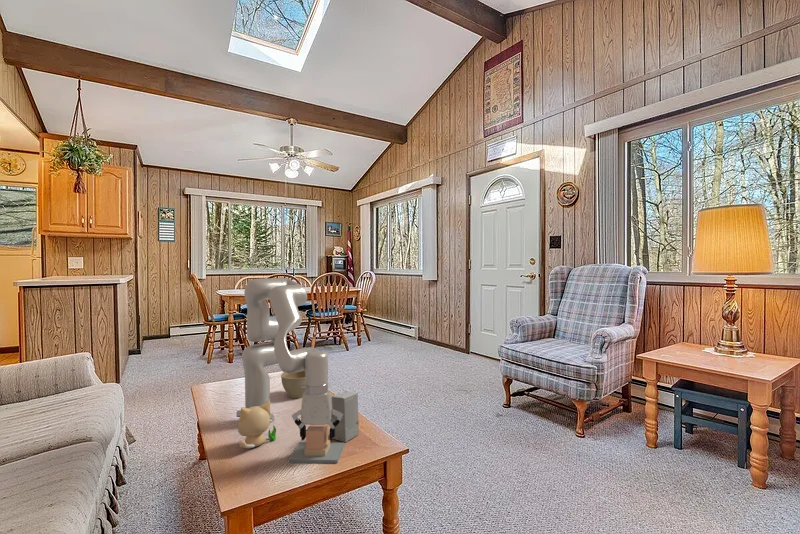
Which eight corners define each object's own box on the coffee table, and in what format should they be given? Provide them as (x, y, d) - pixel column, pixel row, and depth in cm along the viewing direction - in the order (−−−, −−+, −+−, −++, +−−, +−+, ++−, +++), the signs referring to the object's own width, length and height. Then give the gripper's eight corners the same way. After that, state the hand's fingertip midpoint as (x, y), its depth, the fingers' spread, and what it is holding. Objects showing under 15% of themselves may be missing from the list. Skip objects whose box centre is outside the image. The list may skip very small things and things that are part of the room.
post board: (288, 462, 123) (288, 442, 123) (300, 444, 135) (299, 426, 135) (337, 463, 122) (337, 443, 122) (344, 445, 134) (344, 427, 134)
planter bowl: (279, 392, 191) (278, 371, 191) (311, 388, 198) (311, 367, 198) (283, 403, 176) (283, 379, 176) (318, 397, 183) (317, 375, 183)
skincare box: (345, 443, 136) (345, 399, 136) (330, 438, 139) (330, 395, 139) (360, 434, 143) (359, 392, 143) (345, 430, 147) (345, 389, 147)
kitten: (270, 433, 144) (269, 394, 144) (282, 442, 137) (281, 401, 137) (229, 446, 134) (229, 404, 134) (240, 457, 127) (239, 412, 127)
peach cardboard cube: (306, 449, 126) (305, 431, 126) (311, 440, 132) (310, 423, 132) (323, 449, 125) (323, 431, 125) (328, 440, 131) (328, 423, 131)
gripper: (288, 392, 125) (288, 444, 125) (339, 392, 124) (340, 444, 124) (295, 385, 133) (296, 433, 133) (344, 385, 132) (345, 434, 132)
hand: (317, 438), depth 128 cm, fingers open, 9 cm apart
